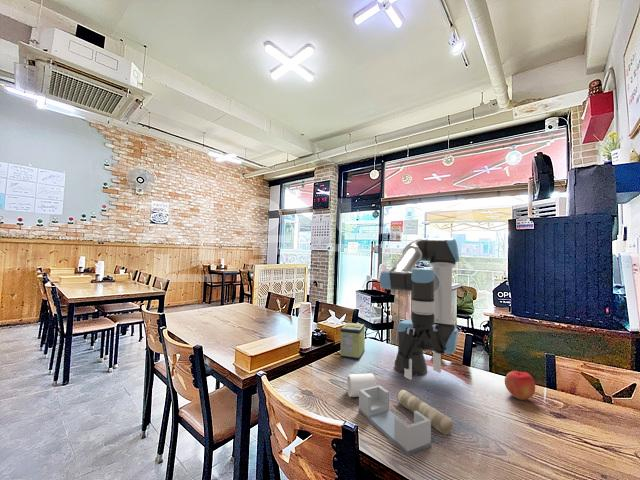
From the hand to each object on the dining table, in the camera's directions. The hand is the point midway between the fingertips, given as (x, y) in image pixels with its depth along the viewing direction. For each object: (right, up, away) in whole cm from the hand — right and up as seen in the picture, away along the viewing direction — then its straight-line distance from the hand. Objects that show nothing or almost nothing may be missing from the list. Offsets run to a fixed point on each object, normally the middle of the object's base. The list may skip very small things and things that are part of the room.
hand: (423, 374), depth 98 cm
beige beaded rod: (0, -12, 0) cm, 12 cm away
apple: (+43, -16, +13) cm, 47 cm away
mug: (-20, -15, +16) cm, 29 cm away
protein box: (-18, -17, +58) cm, 63 cm away
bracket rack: (-13, -14, -7) cm, 20 cm away
